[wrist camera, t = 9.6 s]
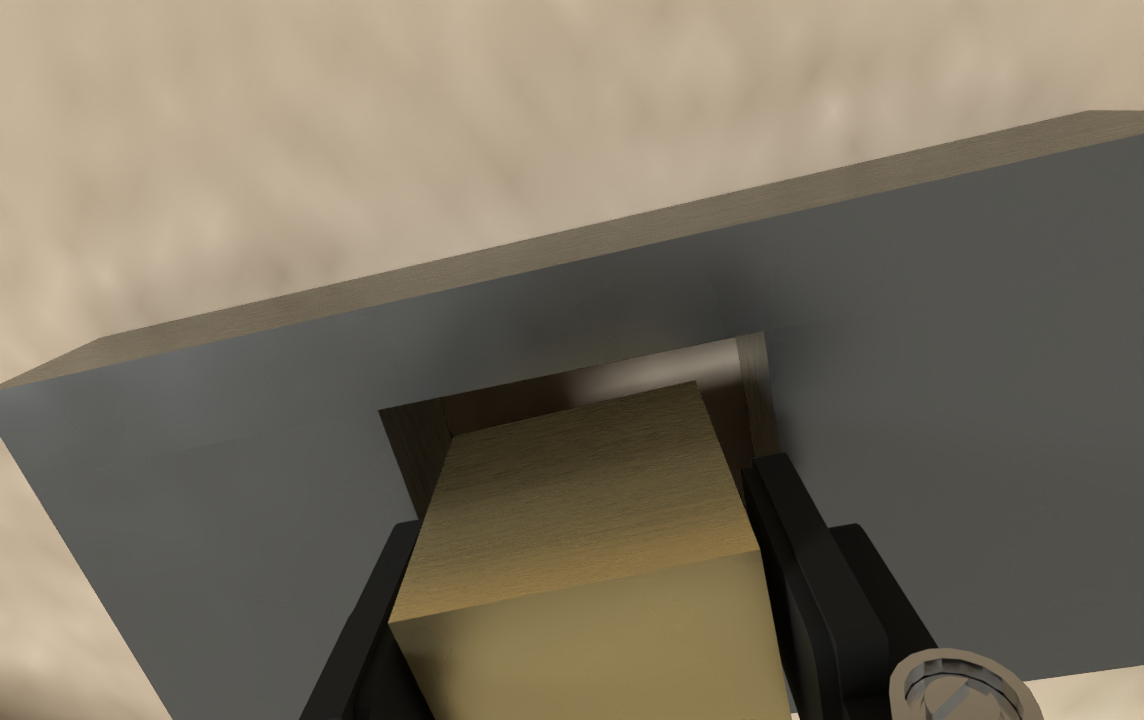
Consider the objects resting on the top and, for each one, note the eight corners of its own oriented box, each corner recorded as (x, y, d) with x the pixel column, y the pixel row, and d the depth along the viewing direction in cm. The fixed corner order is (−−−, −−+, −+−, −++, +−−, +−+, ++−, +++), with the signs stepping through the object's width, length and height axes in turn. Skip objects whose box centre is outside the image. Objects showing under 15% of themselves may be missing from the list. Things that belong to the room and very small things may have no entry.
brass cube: (453, 436, 12) (387, 623, 8) (695, 380, 11) (760, 550, 7) (523, 616, 14) (498, 848, 10) (736, 574, 13) (806, 801, 9)
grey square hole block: (99, 337, 14) (-25, 395, 11) (1089, 110, 12) (1242, 111, 9) (278, 682, 17) (217, 792, 15) (1069, 558, 15) (1176, 660, 12)
